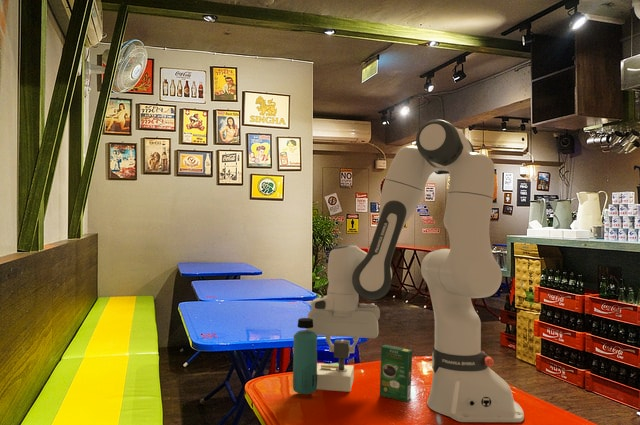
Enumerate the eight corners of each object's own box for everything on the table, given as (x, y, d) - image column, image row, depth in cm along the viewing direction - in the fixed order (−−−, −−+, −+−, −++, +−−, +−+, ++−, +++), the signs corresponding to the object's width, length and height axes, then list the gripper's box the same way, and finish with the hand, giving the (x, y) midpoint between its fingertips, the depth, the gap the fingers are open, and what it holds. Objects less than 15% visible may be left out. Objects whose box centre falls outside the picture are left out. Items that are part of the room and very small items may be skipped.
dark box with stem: (349, 367, 135) (349, 339, 135) (347, 371, 131) (348, 343, 131) (322, 365, 136) (322, 337, 136) (319, 370, 132) (320, 341, 132)
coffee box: (412, 399, 123) (413, 348, 123) (408, 403, 120) (408, 351, 120) (383, 393, 127) (384, 343, 127) (379, 396, 125) (379, 346, 125)
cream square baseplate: (353, 378, 138) (354, 363, 138) (350, 391, 127) (350, 376, 128) (313, 375, 140) (313, 361, 140) (306, 388, 129) (306, 372, 129)
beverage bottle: (314, 401, 120) (315, 321, 121) (288, 398, 122) (290, 320, 122) (319, 392, 127) (320, 316, 127) (295, 389, 128) (296, 315, 129)
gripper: (380, 302, 135) (379, 351, 134) (309, 299, 138) (308, 346, 138) (379, 306, 128) (378, 357, 128) (305, 302, 132) (304, 352, 131)
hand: (341, 351), depth 133 cm, fingers closed on dark box with stem, 4 cm apart
